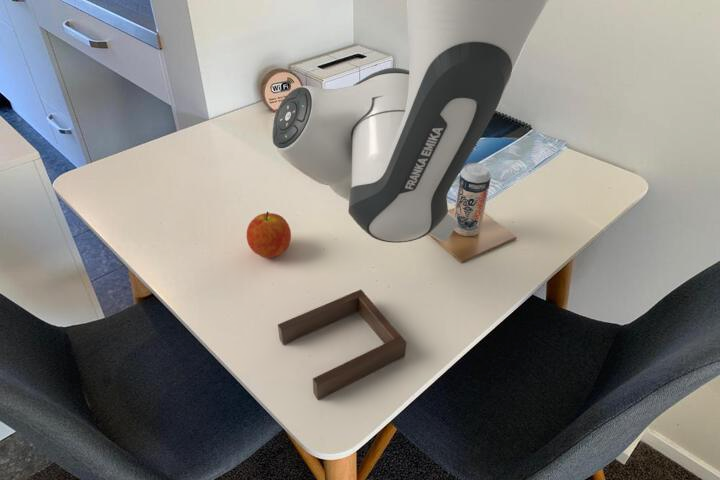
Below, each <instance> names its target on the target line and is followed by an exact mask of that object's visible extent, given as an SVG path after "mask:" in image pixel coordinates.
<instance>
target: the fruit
mask: <svg viewBox="0 0 720 480" xmlns="http://www.w3.org/2000/svg"><path fill="white" fill-rule="evenodd" d="M246 241H247V245H248V246H249V248H250V249H251V251H252V252H253V253H254V254H256V255H258V256H259V257H261V258H265V259H269V258H274V257H277V256H279V255H282V254H283V253H284V252H285V251H287V249H288V248H289V247H290V244H291V241H292V231H291V228H290V225H289V223H288V222H287V221H286V219H285V218H284V217H283V216H281V215H279V214H278V213H274V212H273V213H272V212H269V211H266V213H265V212H263V213H260V214H258V215H257V216H255V217H253V218H252V220H251V221H250V222H249V223H248V226H247V228H246Z"/></svg>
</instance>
